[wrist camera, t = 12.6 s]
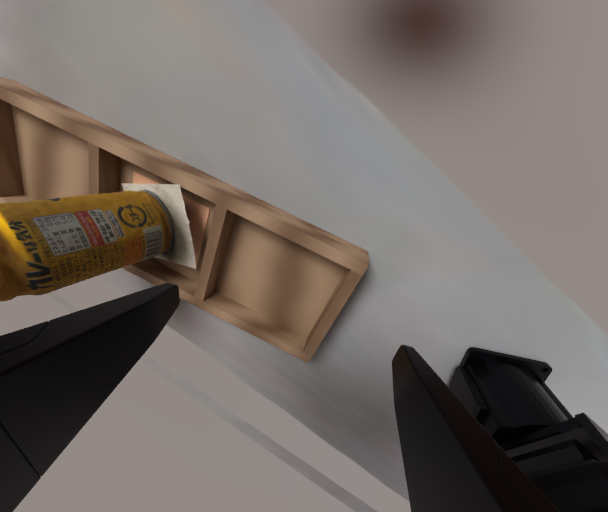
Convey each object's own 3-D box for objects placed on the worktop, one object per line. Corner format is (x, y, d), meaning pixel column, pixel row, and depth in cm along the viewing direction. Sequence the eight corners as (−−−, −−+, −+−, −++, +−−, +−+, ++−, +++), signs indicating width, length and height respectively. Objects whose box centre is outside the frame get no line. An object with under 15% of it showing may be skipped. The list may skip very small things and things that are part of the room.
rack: (368, 251, 20) (369, 265, 18) (312, 342, 25) (307, 364, 23) (13, 80, 22) (-36, 69, 19) (29, 199, 27) (-7, 203, 24)
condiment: (123, 183, 22) (-127, 201, 12) (181, 184, 18) (-109, 212, 9) (145, 254, 25) (-45, 316, 15) (199, 267, 21) (-5, 361, 11)
